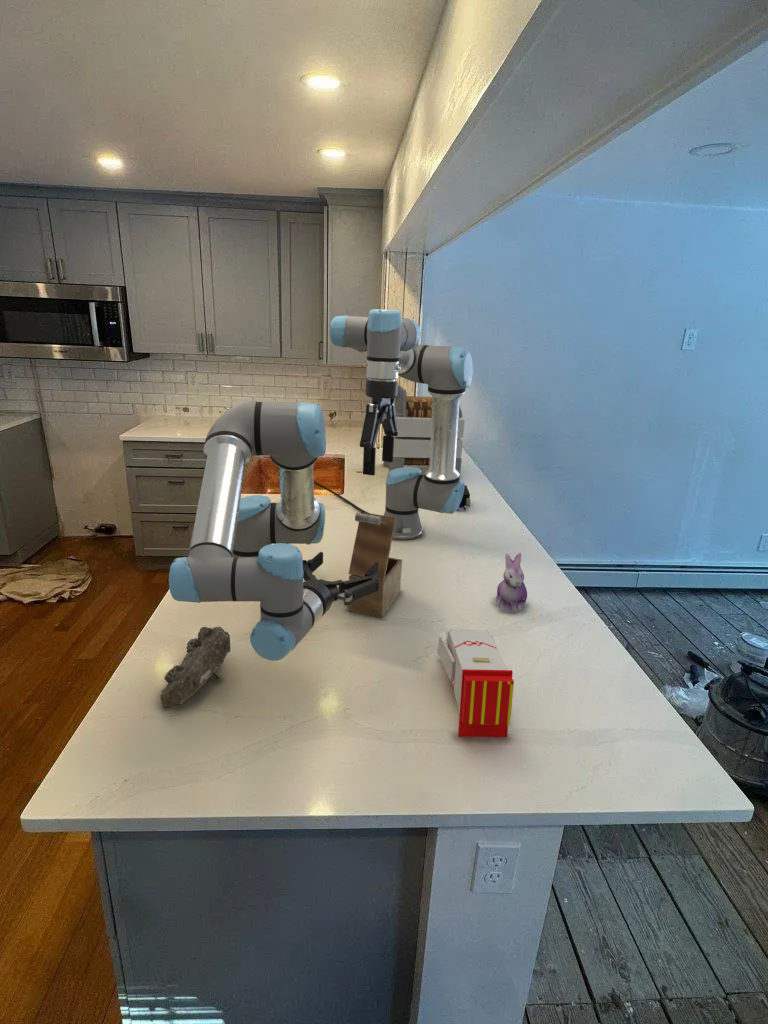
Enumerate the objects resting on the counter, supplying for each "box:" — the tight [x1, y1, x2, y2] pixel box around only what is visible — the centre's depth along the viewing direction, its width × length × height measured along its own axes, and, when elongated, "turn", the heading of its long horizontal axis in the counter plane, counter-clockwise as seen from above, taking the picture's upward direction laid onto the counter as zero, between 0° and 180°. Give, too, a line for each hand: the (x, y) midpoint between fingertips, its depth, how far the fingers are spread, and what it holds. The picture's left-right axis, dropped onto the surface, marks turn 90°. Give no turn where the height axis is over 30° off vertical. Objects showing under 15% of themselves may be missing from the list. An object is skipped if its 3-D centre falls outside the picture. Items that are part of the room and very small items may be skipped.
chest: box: [347, 556, 403, 619], centre depth 152 cm, size 16×9×10 cm, turn 161°
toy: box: [437, 628, 515, 738], centre depth 117 cm, size 12×13×30 cm
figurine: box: [495, 552, 528, 614], centre depth 152 cm, size 9×10×15 cm
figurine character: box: [456, 484, 471, 512], centre depth 229 cm, size 7×8×15 cm
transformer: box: [383, 384, 465, 480], centre depth 268 cm, size 34×33×41 cm
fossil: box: [159, 626, 232, 707], centre depth 118 cm, size 22×10×15 cm
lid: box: [348, 511, 396, 581], centre depth 140 cm, size 16×9×9 cm
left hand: (348, 562), depth 129 cm, fingers open, 13 cm apart
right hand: (378, 467), depth 139 cm, fingers open, 13 cm apart
